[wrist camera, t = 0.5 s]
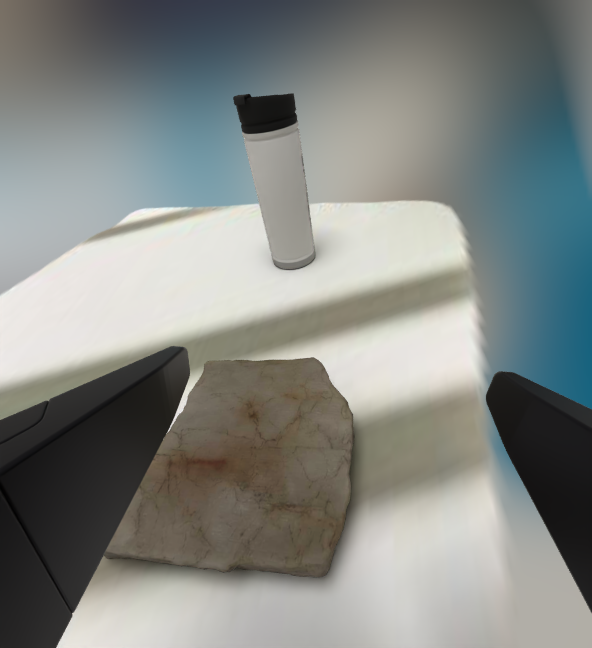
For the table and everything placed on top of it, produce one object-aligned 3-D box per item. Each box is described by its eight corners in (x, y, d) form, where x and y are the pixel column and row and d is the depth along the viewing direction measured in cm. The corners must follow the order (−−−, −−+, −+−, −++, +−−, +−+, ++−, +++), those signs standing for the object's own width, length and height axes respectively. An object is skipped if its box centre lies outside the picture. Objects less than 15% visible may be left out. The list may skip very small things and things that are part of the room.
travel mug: (263, 263, 45) (218, 98, 31) (293, 243, 48) (265, 85, 34) (293, 276, 41) (257, 94, 28) (324, 253, 44) (305, 80, 31)
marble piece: (104, 559, 20) (62, 544, 18) (189, 381, 31) (171, 354, 28) (355, 602, 17) (352, 590, 14) (355, 384, 27) (353, 353, 25)
